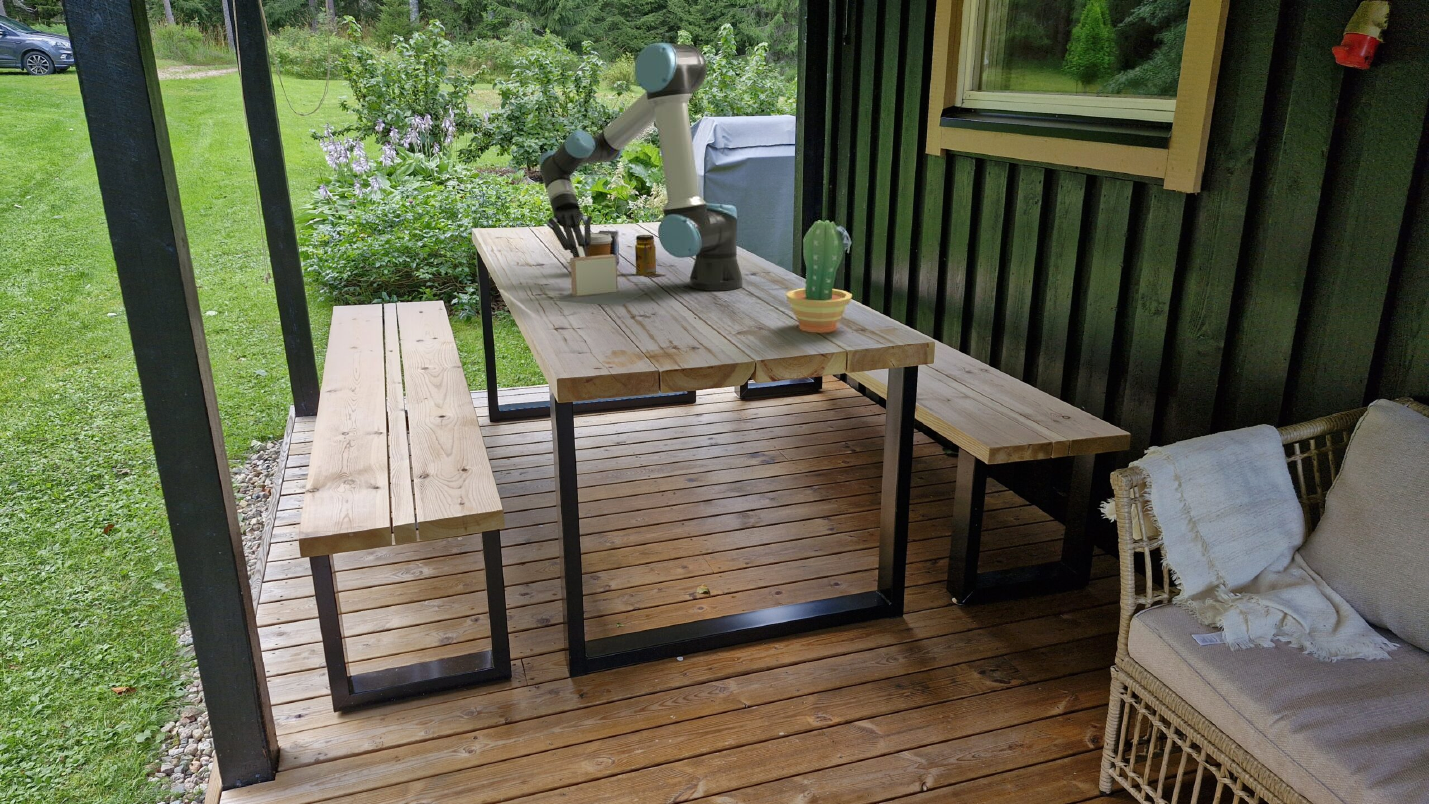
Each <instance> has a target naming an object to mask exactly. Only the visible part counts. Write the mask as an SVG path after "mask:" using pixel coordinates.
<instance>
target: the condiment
mask: <svg viewBox="0 0 1429 804" xmlns="http://www.w3.org/2000/svg"><path fill="white" fill-rule="evenodd" d="M635 238H636V239H635V240H636V241H635V243H636V244H635V247H634V250H635V254H634V255H635V273H636V274H633V275H634V276H635V275H638V276H642V277H644V278H647V279H650V278H655V277H656V278H657V277H662V276H666V274H664V273H661V272H660V273H659V272H657V261H656V260H657V258H656V257H657V254H656V244H655V236H654V235H652V234H640V235H636V237H635ZM648 277H649V278H648Z"/></svg>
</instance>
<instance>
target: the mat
mask: <svg viewBox="0 0 1429 804" xmlns="http://www.w3.org/2000/svg"><path fill="white" fill-rule="evenodd" d="M646 293H647V292H646V291H633V290H632V291H631V290H619V289H618V293H610V294H600V295H590V296H581V297H575V296H573V295H572V292H571V293H568V294H566V295H564V296H562V297H559V298H557V299H555V300H554V302H566V303H577V304H578V303H580V304H590V305H591V304H592V305H604V306H614V307H616V306H617V307H618V306H619V307H622V306H624V305H625V304H628V303H629V302H631V301H632V300H635V299H637V298H638V297H641V296H642V295H644V294H646Z"/></svg>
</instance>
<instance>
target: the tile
mask: <svg viewBox="0 0 1429 804" xmlns="http://www.w3.org/2000/svg"><path fill="white" fill-rule="evenodd" d="M569 260H570V261H569V262H570V264H569V265H570V278H571V279H570V280H571V281H570V282H571V293H572V295H573V296H575V297H581V296H590V295H600V294H610V293H618V290H619V288H618V265H617V258H616V256H615V255H613V254H611V255H600V256H588V257H576V258H574V257H569Z"/></svg>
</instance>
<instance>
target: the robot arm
mask: <svg viewBox="0 0 1429 804" xmlns="http://www.w3.org/2000/svg"><path fill="white" fill-rule="evenodd" d="M636 57H637V58H636V59H635V63H634V77H635V80H636V82H637V84H638V85H639V87H641V89H642V90H644V91H645V92H644V93H643V94H641V95H640V96H639V97H638V98H637V99H636V100H635V101H634V102H633V103H631V105H629V106H628V107H627V108H626V109H625V110H624V111H623V112H622V113H621V114H619V116H617V117H616V118H615V119H613V121H612V122H611V123H609V124H608V125H607V126H606V127H605V128H604V129H603V130H602V131H601V132H599V134H597V135H591V134H590V133H589V132H588V131H586V130H582V129H575V130H574V131H573V132H571V134H570V135H568V136H567V137H566V138H565V140H564V141H563V142H562V143H561V144H560V146H559V147H558V148H557V149H556V150H547V151H546V152H545V153H542V154H541V155H540V156H539V159H538V166H539V169H540V171H539V173H540V175H541V176H542V180H543V183H544V186H545V189H546V193H547V197H548V199H549V203H550V208H551V210H552V214H553V217H551V218H549V219H548V222H547V227H548V228H550V230H552V231H553V233H554V235H555V236H556V239H557V240H558V242H559V244H560V245H561V246H562V249H563V250H564V251H569V253H570V254H572V256H573V257H572V258H576V257H588V254H587V250H586V249H589V247H590V244H591V233H592V232H591V223H592V220H593V216H591V215H590V216H589V215H588V216H586V215H584V213H583V212H582V211H581V209H580V205H579V202H578V198H577V195H576V192H575V190H574V187H573V184H572V183H573V182H572V179H571V176H572V175H573V174H574V173H575V172H576V171H577V170H578V168H580V166H581V165H587V164H588V165H589V164H595V163H596V164H598V163H610V162H613V161H617V160H618V159H620V158H621V157H622V154H623V152H624V148H626V146H628V145H629V144H630V143H631V142H632V141H634V140H635V139H636V138H637V137H638V136H639V135H640V134H642V133H643V132H644V131H645V130H646V129H648V128H649V127H650V126H651V125H652V124H653V123H656V128H657V134H658V135H657V136H658V141H659V148H660V149H659V150H660V156H661V163H662V170H663V176H664V177H663V178H664V185H665V190H666V191H665V192H666V198H667V201H666V203H665V205H664V206H663V207H662V211H663V218H662V219H661V221H660V223H659V225H658V229H657V235H658V240H659V242H660V245H661V247H662V248H663V249H664V250H665V251H666V252H667V253H668V254H669V255H670V256H673V257H675V258H680V259H684V258H693V257H695V259H694V263H693V266H692V268H691V272H690V276H689V287H690V288H693V289H696V290H703V291H711V292H712V291H716V292H717V291H731V290H737V289H740V288H742V287H743V280H744V279H743V275H742V274H743V273H742V271H741V269H740V265H739V263H738V258H737V249H738V248H737V245H738V241H737V239H738V238H737V237H738V217H737V216H738V215H737V214H738V211H737V207H736V206H734V205H731V204H722V203H721V204H719V203H708V202H706V201H705V200H704V199H702V197H701V196H700V189H699V181H698V175H697V168H696V167H697V166H696V160H695V159H696V158H695V153H694V152H695V151H694V143H693V137H692V128H691V124H690V123H691V121H690V115H689V108H688V107H689V106H688V102H689V101H690V99H691V98H692V96H693V94H694V93H695V92H696V91H697V90H698V89H700V88H701V86H702V85H703V84H704V82H705V81H706V76H707V72H708V67H707V66H708V65H707V61H706V58H705V56H704V55H703V53H702V52H701V50H700V49H698V48H697V47H695V46H694V45H692V44H691V45H690V44H689V43H688V44H686V43H685V44H684V43H681V44H680V43H671V42H655V43H650V44H648V45H646V46H645V47H644V48H643V49H641V51H640V52H639V55H638V56H636ZM581 222H582V224H583V225H584V229H583V230H584V233H583V232H582V229H581V226H580V225H581ZM561 227H562V228H563V230H562V228H561ZM582 234H585V242H584V238H583V235H582Z"/></svg>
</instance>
